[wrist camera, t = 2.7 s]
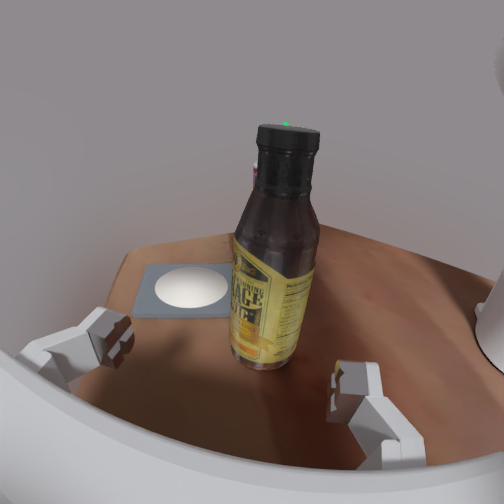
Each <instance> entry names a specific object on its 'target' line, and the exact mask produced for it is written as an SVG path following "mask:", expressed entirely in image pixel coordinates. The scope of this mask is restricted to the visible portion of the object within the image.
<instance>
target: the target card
mask: <svg viewBox="0 0 504 504" xmlns="http://www.w3.org/2000/svg"><path fill="white" fill-rule="evenodd" d="M231 280H232V264H149V265H147V267H146V270H145V273H144V275H143V278H142V281H141V284H140V287H139V291H138V294H137V297H136V300H135V303H134V306H133V310H132V313H131V314H132V318H228V317H230V312H231Z"/></svg>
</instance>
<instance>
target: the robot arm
mask: <svg viewBox="0 0 504 504" xmlns="http://www.w3.org/2000/svg"><path fill="white" fill-rule="evenodd" d="M494 67H495V74H496V79H497V82H498V85H499V87H500V90H501V92H502V94H503V95H504V39H503V40H502V41H501V42H500V44H499V45H498V47H497V50H496V54H495V60H494ZM475 314H476V317H477V323H476V327H475V332H476V337H477V340H478V342H479V345H480V347H481V348H482V350H483V352H484V353H485V354H486V356H487V357H488V358H489V359H490V361H491V362H492V363H493V364H494V365H495V366H496V367H497V368H498V369H500V370H501V371H502V372H503V373H504V267H503V269H502V270H501V272H500V274H499V276H498V279H497V281H496V283H495V285H494V286H493V288H492V290H491V292H490V294H489V296H488V298H487V300H486V302H485V303H478V304H477V306H476V307H475ZM131 324H132V323H131V319H130V317H128V316H127V315H124V314H121V313H118V312H115V311H112V310H108V309H106V308H103V307H97V308H96V309H95V310H94V311H93V312H92V313H91V314H90V315H89V316H88V317H87V318H85V319H84V320H83V322H82V323H81V324H79V325H78V327H71V328H69V329H66V330H63V331H60V332H57V333H54V334H52V335H48V336H45V337H43V338H40V339H37V340H34V341H31V342H30V343H29V344H28V345H27V346H26V347H25V348H24V349H23V350H22V351H21V352H20V353H19V354H18V355H17V356H16V357H15V358H14V357H13V356H12V355H10V354H9V353H8V352H6V351H5V350H4V349H2V348H1V347H0V504H504V452H496V453H492V454H489V455H485V456H481V457H477V458H472V459H468V460H463V461H458V462H453V463H447V464H441V465H434V466H427V465H426V456H425V449H424V442H423V437H422V436H421V435H420V434H419V433H418V432H417V430H416V429H415V428H414V427H413V426H412V425H411V424H410V422H409V421H408V420H407V419H406V418H405V417H404V416H403V415H402V413H401V412H400V411H399V410H398V409H397V408H396V407H395V405H394V404H393V403H392V402H391V401H390V400H389V399H388V398H387V397H383V391H382V384H381V377H380V370H379V365H378V363H373V362H360V361H350V360H340V359H338V360H337V362H336V365H335V373H333V374H332V375H331V378H330V381H329V385H328V391H327V398H328V400H329V403H328V405H327V408H326V422H334V423H344V424H348V426H349V428H350V430H351V431H352V433H353V435H354V437H355V438H356V440H357V442H358V443H359V445H360V447H361V448H362V450H363V452H364V453H365V455H366V457H367V459H366V460H365V461H364V462H363V463H362V464H361V465H360V466H359V467H358V468H357V469H356V470H329V469H315V468H304V467H295V466H287V465H280V464H273V463H267V462H261V461H255V460H250V459H245V458H240V457H236V456H231V455H227V454H223V453H219V452H215V451H211V450H208V449H204V448H200V447H197V446H193V445H190V444H187V443H184V442H181V441H177V440H174V439H171V438H169V437H166V436H163V435H160V434H157V433H155V432H152V431H149V430H147V429H144V428H142V427H139V426H137V425H134V424H132V423H129V422H127V421H125V420H122V419H120V418H118V417H116V416H113V415H111V414H109V413H107V412H105V411H103V410H101V409H99V408H97V407H95V406H93V405H91V404H89V403H87V402H85V401H83V400H81V399H79V398H77V397H76V396H74V395H72V394H71V390H70V389H69V387H68V385H67V383H68V382H70V381H72V380H74V379H76V378H78V377H80V376H81V375H83V374H85V373H87V372H89V371H91V370H92V369H94V368H96V367H98V366H100V365H103V366H106V367H108V368H111V369H113V370H117V369H118V367H119V366H120V364H121V363H122V362H123V360H124V356H123V355H125V354H128V353H129V352H130V351H131V349H132V348H133V345H134V342H135V336H134V332H133V331H132V329H131V328H130V325H131Z"/></svg>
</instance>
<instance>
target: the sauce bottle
mask: <svg viewBox="0 0 504 504" xmlns="http://www.w3.org/2000/svg"><path fill="white" fill-rule="evenodd" d="M319 142H320V132H318V131H316V130H312V129H306V128H301V127H292V126H285V125H271V124H263V125H259V127H258V134H257V139H256V143H257V146H258V149H259V154H258V162H257V176H256V179H255V186H254V188H253V191H252V193H251V195H250V198H249V200H248V202H247V205H246V207H245V209H244V212H243V214H242V216H241V219H240V221H239V224H238V226H237V229H236V231H235V233H234V244H233V264H232V280H231V312H230V342H231V349H232V353H233V355H234V356H235V358H236V359H237V360H238V361H239V362H240V363H241V364H243V365H245V366H246V367H247V368H249V369H252V370H263V371H266V370H267V371H270V370H274V369H277V368H279V367H282V366H283V365H284V364H286V363H287V362H288V361H289V360H290V359H291V357H292V356H293V354H294V350H295V348H296V345H297V341H298V337H299V333H300V329H301V325H302V321H303V317H304V313H305V308H306V304H307V300H308V295H309V291H310V287H311V282H312V278H313V273H314V268H315V256H316V250H317V246H318V242H319V236H320V228H319V223H318V220H317V217H316V214H315V212H314V209H313V207H312V205H311V202H310V192H311V189H312V186H311V179H312V172H313V165H314V156H315V155H316V153H317V151H318V150H319Z"/></svg>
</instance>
